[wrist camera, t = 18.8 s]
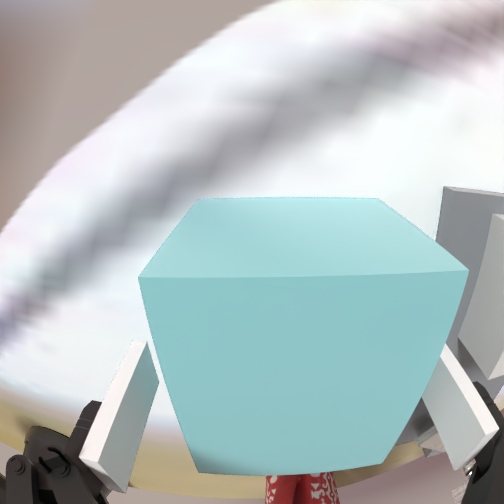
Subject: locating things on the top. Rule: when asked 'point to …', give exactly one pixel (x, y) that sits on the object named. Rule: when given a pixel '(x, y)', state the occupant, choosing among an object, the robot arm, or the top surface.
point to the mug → (301, 489)
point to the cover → (297, 330)
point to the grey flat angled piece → (434, 442)
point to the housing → (472, 293)
